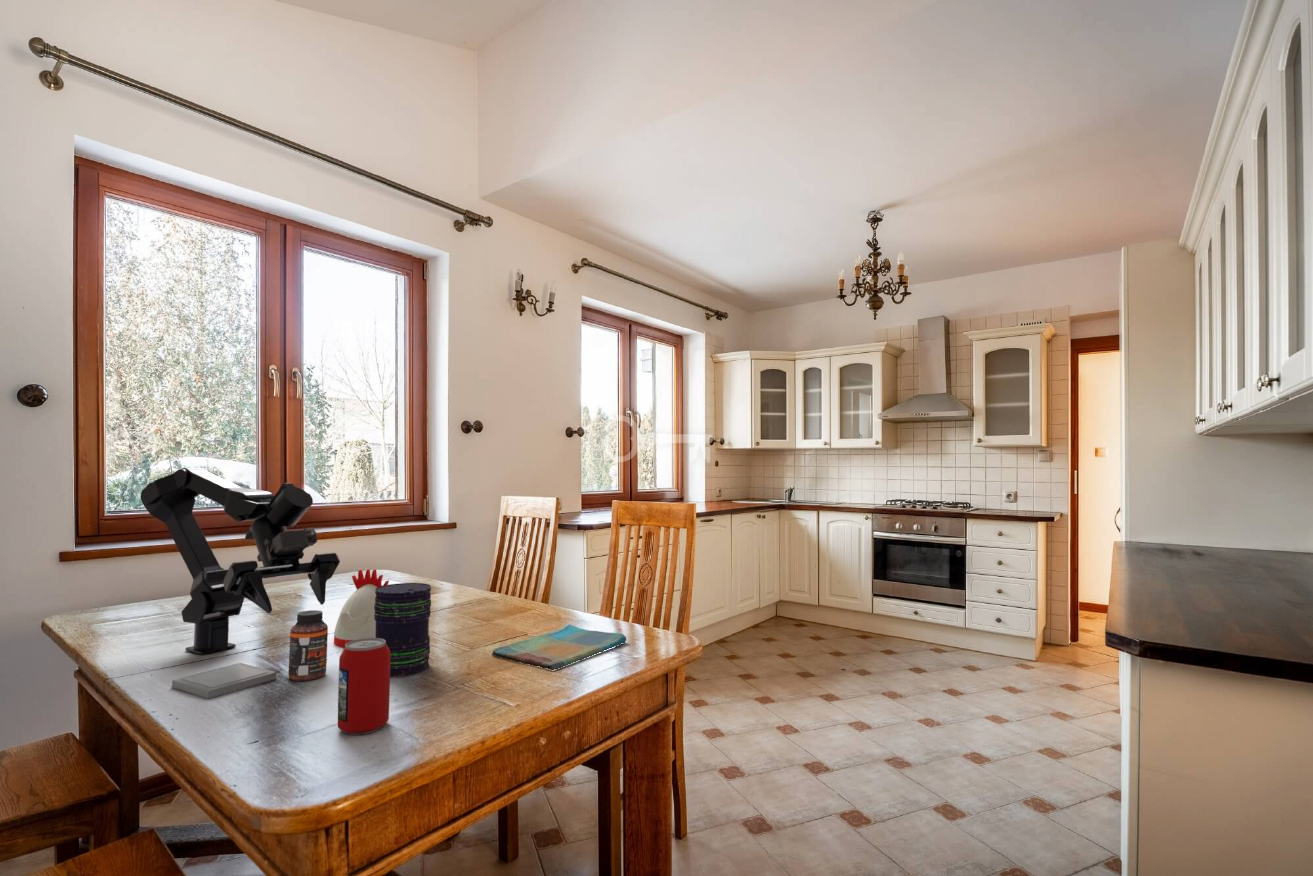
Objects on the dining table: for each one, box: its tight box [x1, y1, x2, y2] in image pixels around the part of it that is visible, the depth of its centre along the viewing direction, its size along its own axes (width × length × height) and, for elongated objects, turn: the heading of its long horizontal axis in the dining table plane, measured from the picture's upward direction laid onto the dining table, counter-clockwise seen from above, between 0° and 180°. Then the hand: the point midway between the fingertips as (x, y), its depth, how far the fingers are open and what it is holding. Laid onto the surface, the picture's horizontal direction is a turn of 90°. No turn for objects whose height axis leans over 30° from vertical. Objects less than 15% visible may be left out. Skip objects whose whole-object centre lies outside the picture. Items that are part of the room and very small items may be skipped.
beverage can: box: [337, 638, 391, 735], centre depth 92 cm, size 7×7×12 cm
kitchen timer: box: [333, 569, 390, 648], centre depth 139 cm, size 14×14×15 cm
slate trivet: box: [171, 662, 277, 700], centre depth 110 cm, size 11×11×1 cm
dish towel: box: [491, 623, 627, 670], centre depth 132 cm, size 17×23×2 cm
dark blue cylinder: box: [374, 582, 432, 679], centre depth 119 cm, size 10×10×15 cm
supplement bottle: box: [288, 609, 329, 682], centre depth 114 cm, size 6×6×11 cm
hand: (297, 607), depth 118 cm, fingers open, 9 cm apart
